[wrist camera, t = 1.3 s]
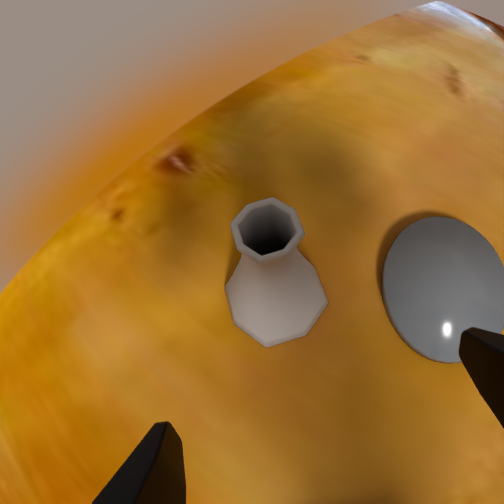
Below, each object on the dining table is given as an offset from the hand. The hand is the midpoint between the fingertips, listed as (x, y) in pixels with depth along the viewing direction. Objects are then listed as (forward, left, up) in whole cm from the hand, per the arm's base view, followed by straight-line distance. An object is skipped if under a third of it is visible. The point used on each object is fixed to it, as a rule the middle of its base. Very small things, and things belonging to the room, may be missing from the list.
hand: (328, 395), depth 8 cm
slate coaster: (+11, -9, -13) cm, 19 cm away
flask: (+6, +4, -13) cm, 15 cm away
